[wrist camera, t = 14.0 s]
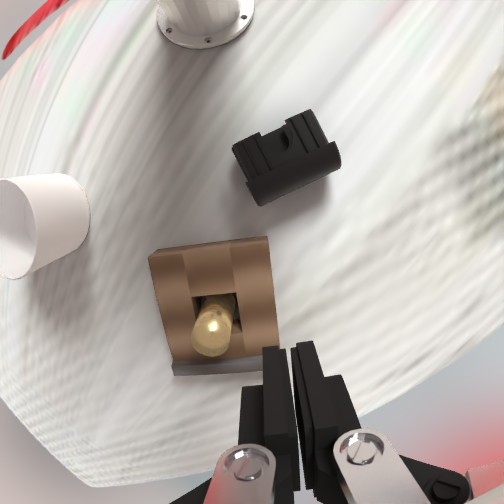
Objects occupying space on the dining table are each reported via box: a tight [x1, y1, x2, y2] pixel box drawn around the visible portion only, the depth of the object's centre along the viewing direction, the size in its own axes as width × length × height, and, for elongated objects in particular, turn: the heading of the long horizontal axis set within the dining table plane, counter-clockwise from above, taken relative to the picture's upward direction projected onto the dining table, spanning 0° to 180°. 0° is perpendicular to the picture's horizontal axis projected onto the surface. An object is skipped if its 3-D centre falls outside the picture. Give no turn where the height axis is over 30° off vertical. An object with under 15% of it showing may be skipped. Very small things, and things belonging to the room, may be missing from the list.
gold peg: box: [191, 293, 236, 357], centre depth 36 cm, size 4×4×10 cm
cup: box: [0, 173, 90, 280], centre depth 32 cm, size 12×12×12 cm
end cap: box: [232, 109, 341, 206], centre depth 33 cm, size 10×7×7 cm
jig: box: [148, 236, 280, 376], centre depth 38 cm, size 16×14×5 cm
